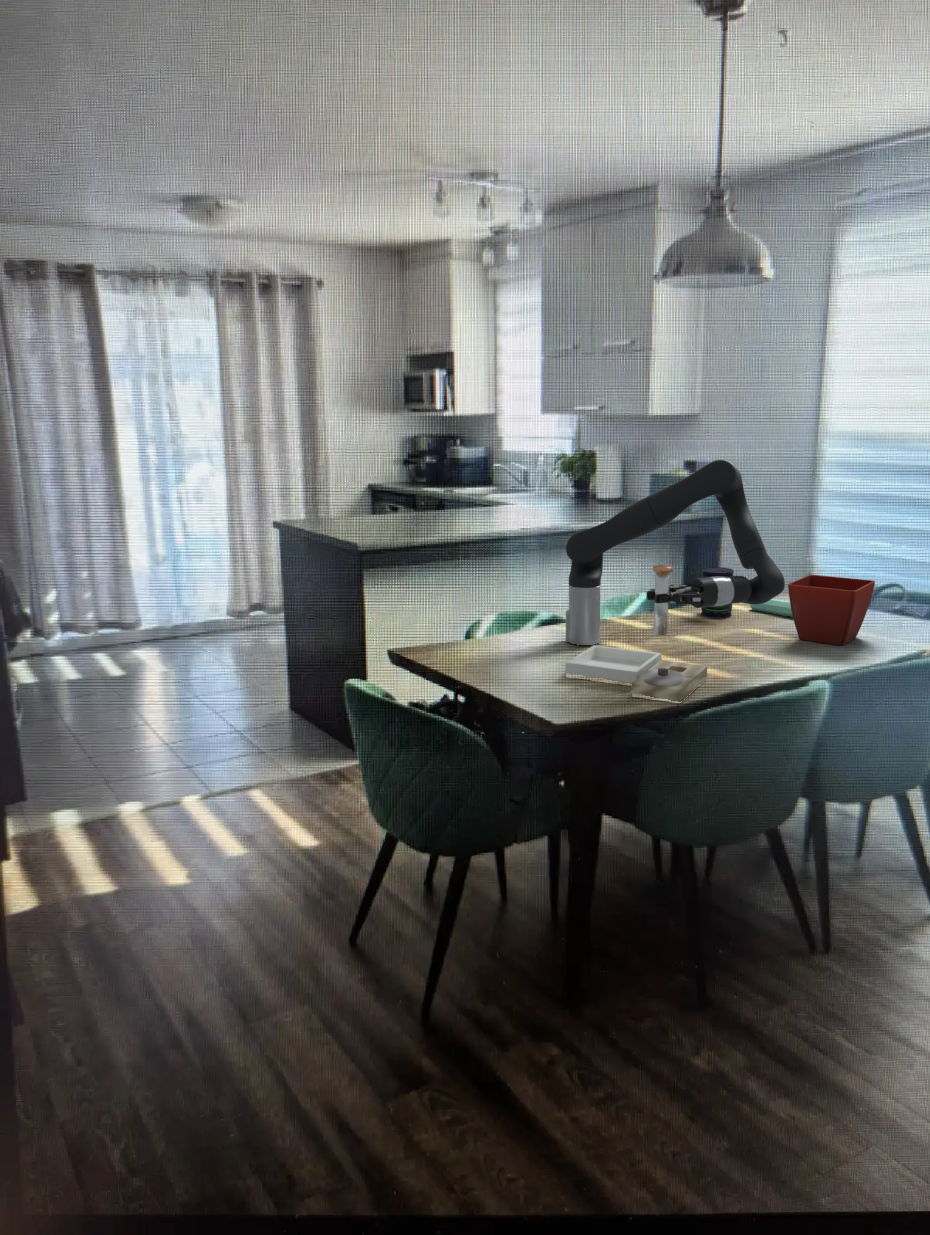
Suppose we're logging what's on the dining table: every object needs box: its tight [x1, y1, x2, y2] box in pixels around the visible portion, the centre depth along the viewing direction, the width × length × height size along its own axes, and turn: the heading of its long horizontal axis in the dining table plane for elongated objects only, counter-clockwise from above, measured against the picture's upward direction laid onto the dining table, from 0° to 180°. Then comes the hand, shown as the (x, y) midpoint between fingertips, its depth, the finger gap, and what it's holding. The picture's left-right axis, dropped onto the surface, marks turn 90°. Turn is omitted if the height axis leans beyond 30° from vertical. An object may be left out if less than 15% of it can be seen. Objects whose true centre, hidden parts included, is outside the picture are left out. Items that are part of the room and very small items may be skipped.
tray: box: [565, 644, 662, 684], centre depth 238 cm, size 19×19×4 cm
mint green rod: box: [749, 598, 793, 618], centre depth 296 cm, size 6×6×25 cm
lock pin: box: [652, 564, 674, 636], centre depth 227 cm, size 5×5×17 cm
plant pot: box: [787, 574, 876, 646], centre depth 266 cm, size 19×19×17 cm
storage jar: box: [700, 566, 735, 619], centre depth 298 cm, size 10×10×15 cm
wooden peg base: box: [630, 659, 708, 702], centre depth 224 cm, size 12×22×6 cm, turn 150°
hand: (651, 597), depth 226 cm, fingers closed on lock pin, 3 cm apart
